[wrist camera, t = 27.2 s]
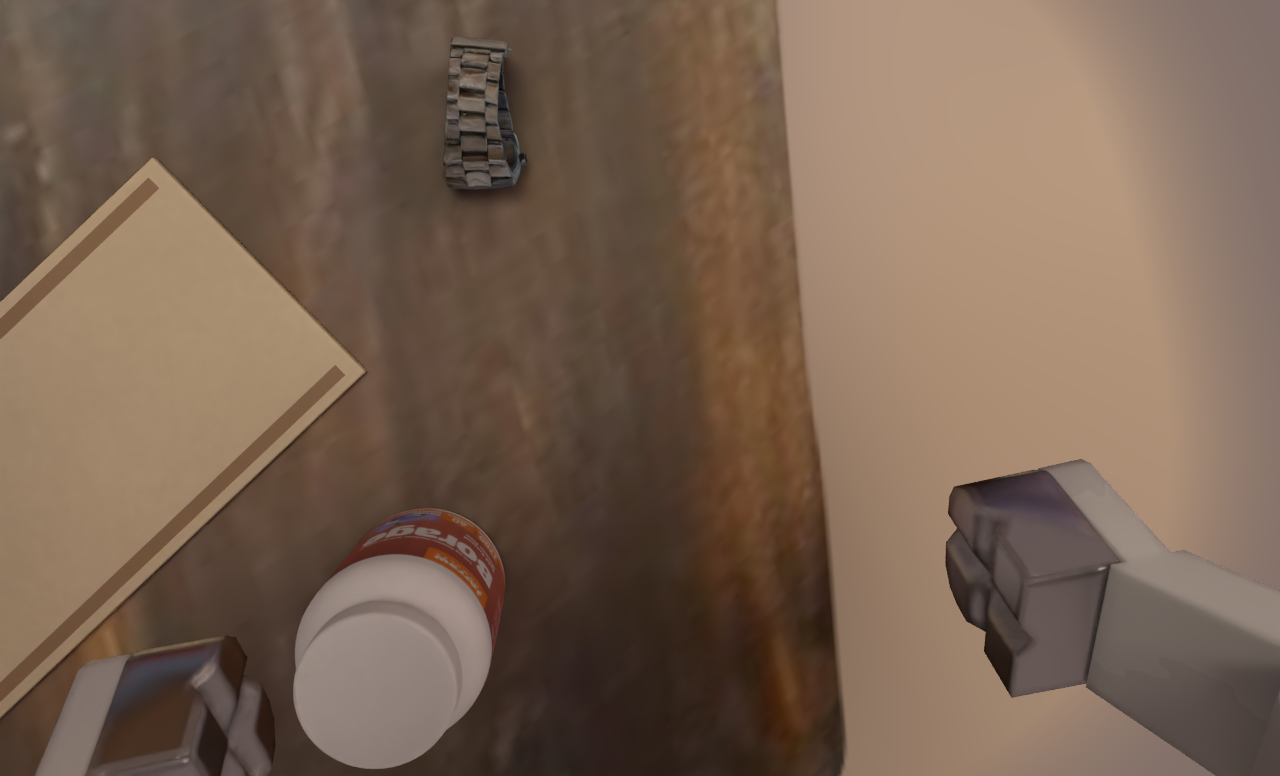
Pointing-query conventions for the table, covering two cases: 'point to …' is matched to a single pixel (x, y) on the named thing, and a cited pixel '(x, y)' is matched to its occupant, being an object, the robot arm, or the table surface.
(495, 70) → the wristwatch
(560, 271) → the table surface
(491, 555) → the pill bottle
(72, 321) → the cutting board
